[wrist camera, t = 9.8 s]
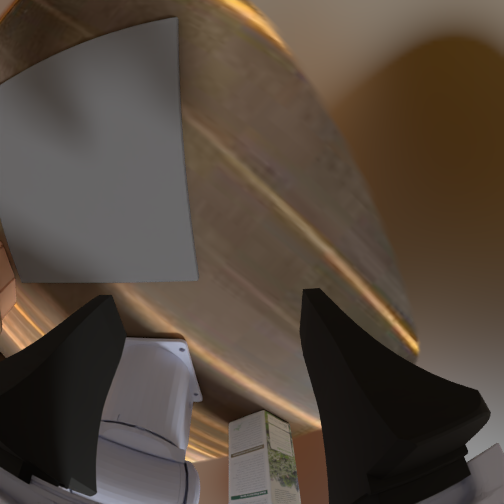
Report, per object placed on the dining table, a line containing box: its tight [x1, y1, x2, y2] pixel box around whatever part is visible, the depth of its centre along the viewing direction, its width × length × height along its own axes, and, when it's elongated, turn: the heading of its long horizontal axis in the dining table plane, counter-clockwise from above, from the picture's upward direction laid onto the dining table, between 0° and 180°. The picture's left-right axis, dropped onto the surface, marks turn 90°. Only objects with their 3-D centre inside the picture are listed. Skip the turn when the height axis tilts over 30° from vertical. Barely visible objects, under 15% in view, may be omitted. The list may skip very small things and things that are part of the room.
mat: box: [0, 17, 199, 283], centre depth 16 cm, size 18×18×1 cm
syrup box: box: [229, 410, 301, 504], centre depth 24 cm, size 6×6×14 cm
